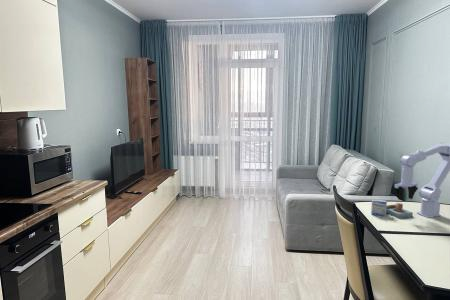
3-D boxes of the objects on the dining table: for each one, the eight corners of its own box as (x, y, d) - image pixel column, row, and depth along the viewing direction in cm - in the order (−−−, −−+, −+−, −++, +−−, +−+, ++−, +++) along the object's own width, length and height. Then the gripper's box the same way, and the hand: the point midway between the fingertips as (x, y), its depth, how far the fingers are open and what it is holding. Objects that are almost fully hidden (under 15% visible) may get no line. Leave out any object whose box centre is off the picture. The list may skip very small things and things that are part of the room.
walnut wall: (397, 209, 200) (397, 202, 200) (401, 210, 197) (402, 204, 196) (378, 211, 197) (378, 204, 196) (382, 213, 193) (383, 206, 193)
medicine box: (371, 214, 191) (372, 200, 189) (371, 212, 195) (371, 198, 194) (386, 216, 188) (387, 202, 187) (385, 213, 192) (386, 200, 191)
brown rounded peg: (398, 212, 192) (399, 202, 192) (403, 214, 189) (404, 204, 188) (394, 213, 191) (394, 203, 191) (398, 214, 188) (399, 205, 187)
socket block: (399, 211, 196) (399, 207, 196) (412, 216, 187) (412, 212, 186) (385, 212, 194) (385, 208, 193) (398, 218, 184) (398, 214, 184)
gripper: (402, 178, 179) (400, 202, 180) (422, 177, 182) (420, 200, 184) (392, 175, 185) (390, 198, 187) (412, 174, 189) (410, 196, 191)
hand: (405, 199), depth 186 cm, fingers open, 7 cm apart
